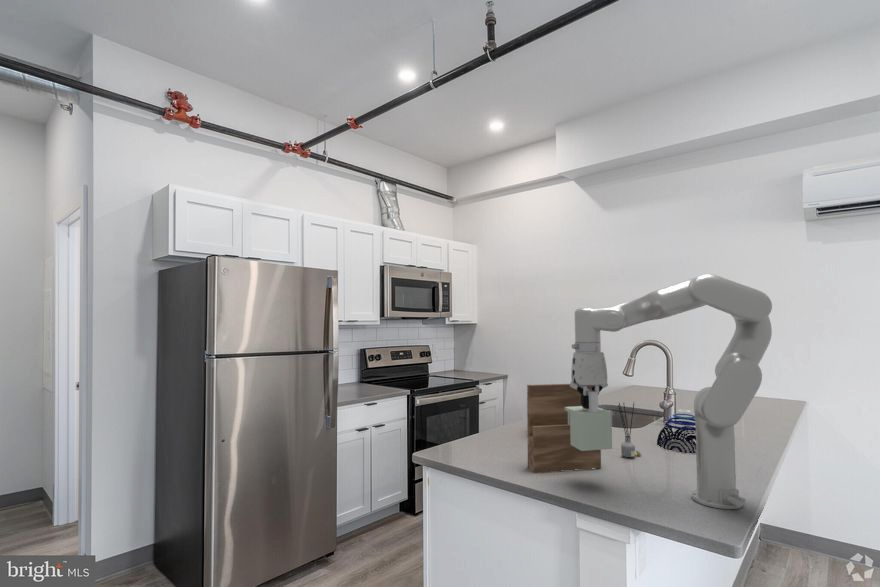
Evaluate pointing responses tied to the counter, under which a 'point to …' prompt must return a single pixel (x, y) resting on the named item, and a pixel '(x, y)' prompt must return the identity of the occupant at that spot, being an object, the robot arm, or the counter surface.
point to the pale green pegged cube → (590, 425)
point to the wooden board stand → (554, 430)
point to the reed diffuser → (628, 440)
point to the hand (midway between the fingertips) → (589, 407)
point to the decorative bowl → (688, 438)
